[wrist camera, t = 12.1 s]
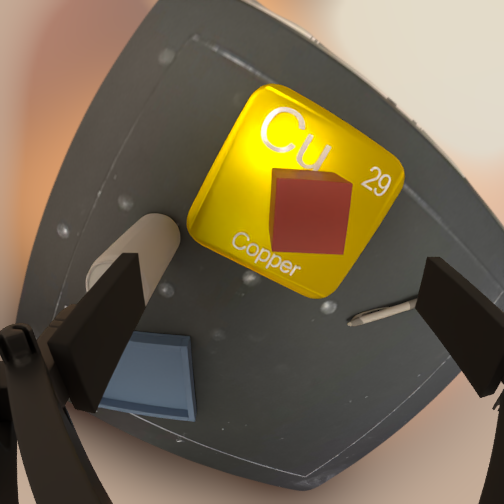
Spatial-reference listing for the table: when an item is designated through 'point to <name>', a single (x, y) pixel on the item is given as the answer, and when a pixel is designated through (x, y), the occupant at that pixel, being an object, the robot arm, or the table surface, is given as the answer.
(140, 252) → the beverage can
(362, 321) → the pen
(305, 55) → the table surface
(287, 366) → the table surface
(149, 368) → the slate tray
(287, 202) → the red block
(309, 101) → the element tile
